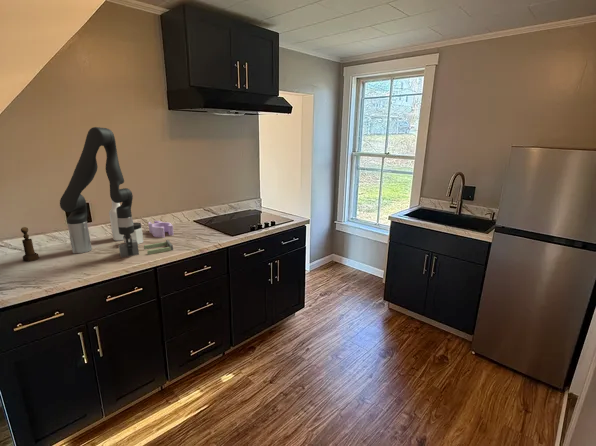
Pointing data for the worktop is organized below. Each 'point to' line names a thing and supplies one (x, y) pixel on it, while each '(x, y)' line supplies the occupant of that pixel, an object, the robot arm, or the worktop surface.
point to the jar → (137, 233)
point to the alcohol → (115, 222)
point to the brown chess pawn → (28, 247)
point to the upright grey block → (124, 249)
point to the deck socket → (169, 248)
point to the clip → (160, 228)
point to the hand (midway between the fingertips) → (129, 252)
